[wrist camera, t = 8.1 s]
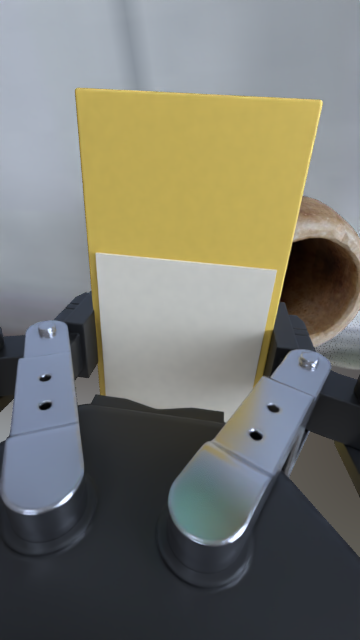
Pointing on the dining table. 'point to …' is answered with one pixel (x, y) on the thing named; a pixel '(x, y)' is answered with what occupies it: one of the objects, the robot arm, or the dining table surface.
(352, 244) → the stone cup
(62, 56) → the dining table surface
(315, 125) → the packet
